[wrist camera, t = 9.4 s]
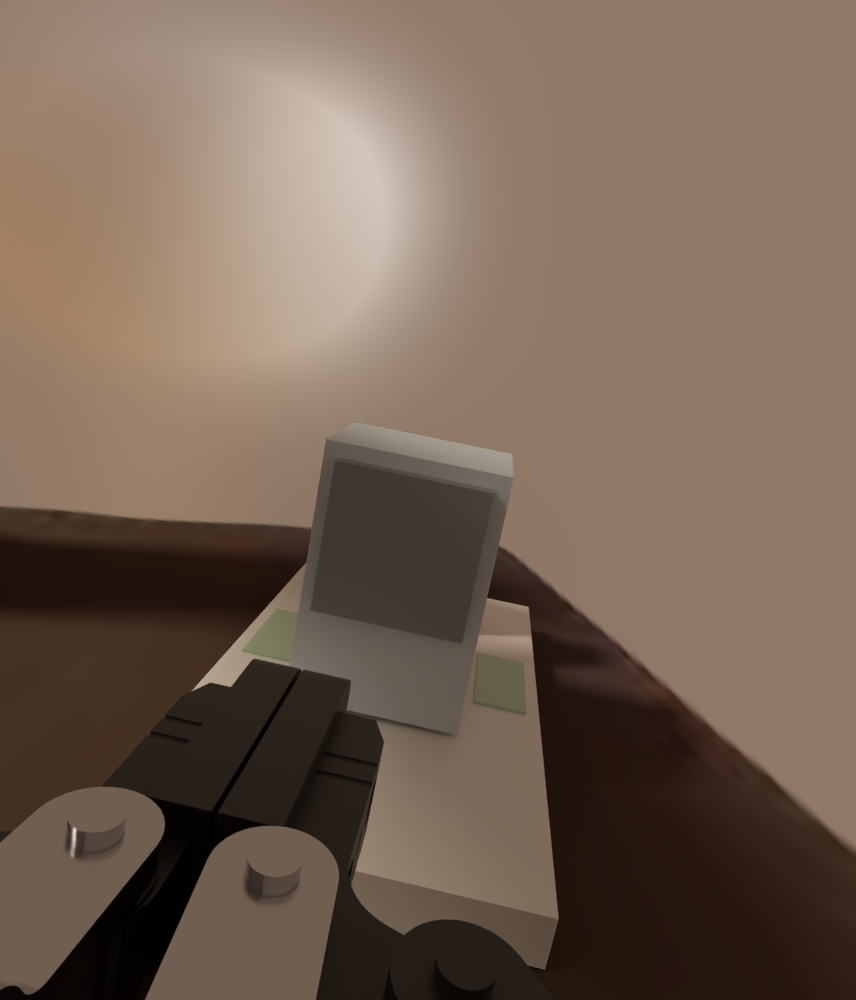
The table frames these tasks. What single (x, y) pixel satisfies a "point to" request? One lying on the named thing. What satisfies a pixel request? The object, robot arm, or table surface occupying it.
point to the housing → (450, 791)
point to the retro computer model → (401, 570)
